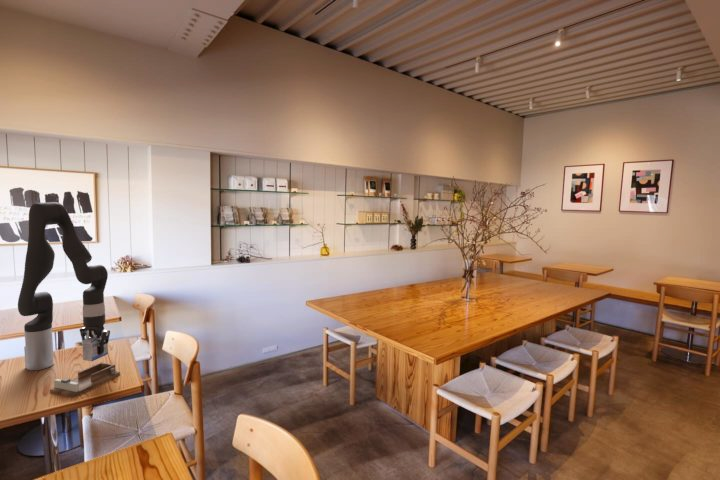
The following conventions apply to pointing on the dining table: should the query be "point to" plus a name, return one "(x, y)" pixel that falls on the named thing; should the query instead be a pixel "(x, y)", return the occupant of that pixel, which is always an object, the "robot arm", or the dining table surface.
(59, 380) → the gate
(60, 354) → the dining table surface
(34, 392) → the dining table surface
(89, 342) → the medicine box
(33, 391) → the dining table surface
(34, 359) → the robot arm
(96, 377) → the housing
